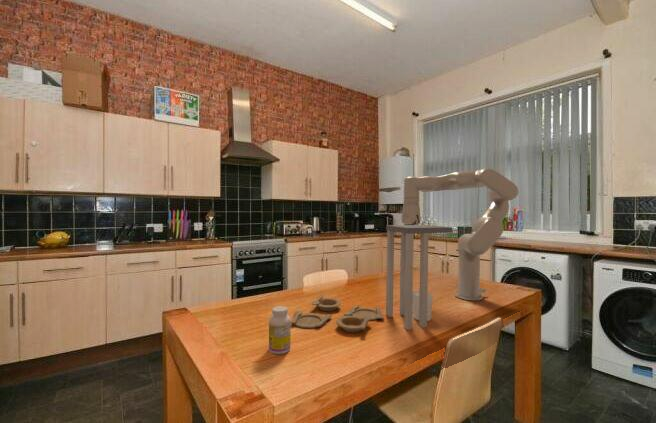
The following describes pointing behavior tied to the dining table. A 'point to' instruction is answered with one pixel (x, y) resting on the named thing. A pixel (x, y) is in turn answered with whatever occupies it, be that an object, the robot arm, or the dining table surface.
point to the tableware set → (346, 322)
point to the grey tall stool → (409, 270)
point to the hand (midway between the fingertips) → (410, 237)
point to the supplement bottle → (279, 331)
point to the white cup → (416, 304)
